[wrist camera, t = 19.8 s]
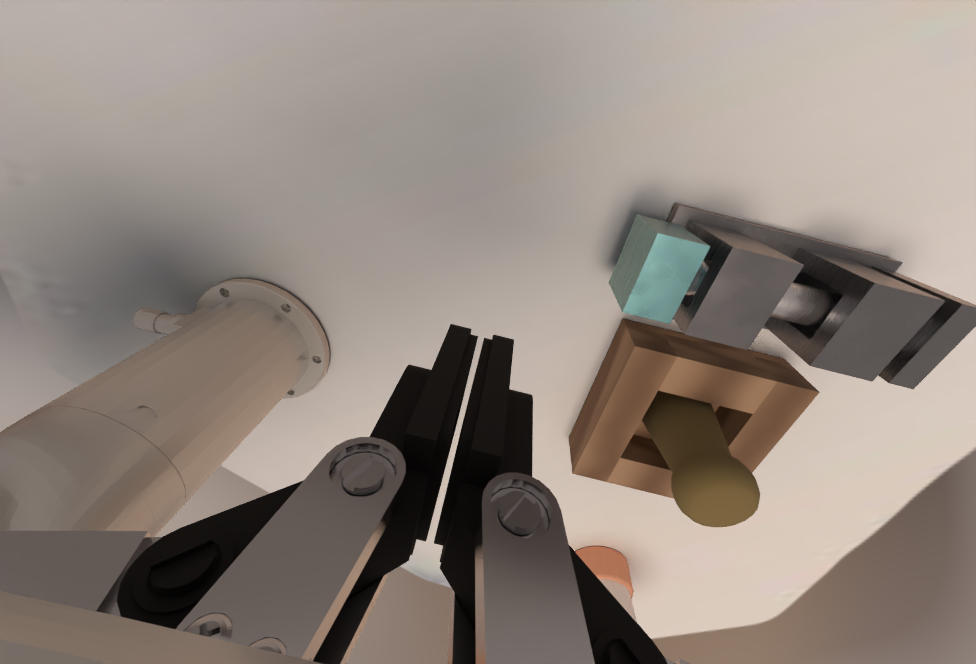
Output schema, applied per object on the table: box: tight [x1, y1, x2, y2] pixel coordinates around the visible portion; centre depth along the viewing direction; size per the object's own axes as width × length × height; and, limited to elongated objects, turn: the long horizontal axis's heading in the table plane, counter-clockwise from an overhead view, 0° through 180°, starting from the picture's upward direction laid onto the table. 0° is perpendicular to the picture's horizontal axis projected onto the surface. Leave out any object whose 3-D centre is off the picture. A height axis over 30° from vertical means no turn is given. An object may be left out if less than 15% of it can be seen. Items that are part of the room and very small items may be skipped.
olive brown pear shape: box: [642, 391, 760, 527], centre depth 29 cm, size 6×6×11 cm
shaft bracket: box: [667, 203, 976, 389], centre depth 25 cm, size 16×7×8 cm, turn 78°
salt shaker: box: [576, 546, 637, 622], centre depth 40 cm, size 7×7×19 cm
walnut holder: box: [569, 319, 819, 498], centre depth 33 cm, size 14×14×4 cm
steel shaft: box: [609, 214, 843, 329], centre depth 24 cm, size 17×5×5 cm, turn 78°
